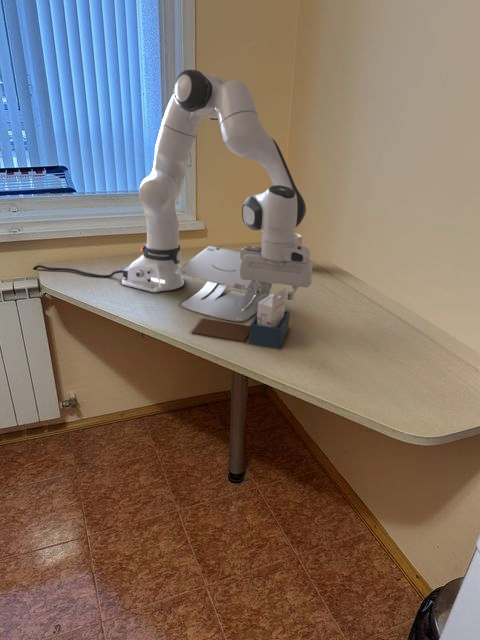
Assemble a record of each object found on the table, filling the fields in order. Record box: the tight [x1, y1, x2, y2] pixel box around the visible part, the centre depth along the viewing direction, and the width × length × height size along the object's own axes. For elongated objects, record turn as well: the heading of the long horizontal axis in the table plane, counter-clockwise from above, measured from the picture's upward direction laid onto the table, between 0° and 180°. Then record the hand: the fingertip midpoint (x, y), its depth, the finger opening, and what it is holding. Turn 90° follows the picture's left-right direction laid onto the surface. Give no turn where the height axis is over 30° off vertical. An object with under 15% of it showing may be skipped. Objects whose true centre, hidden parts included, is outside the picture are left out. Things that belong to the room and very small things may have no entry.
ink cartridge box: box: [256, 287, 287, 328], centre depth 140 cm, size 9×5×15 cm, turn 148°
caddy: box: [248, 310, 291, 350], centre depth 143 cm, size 9×13×6 cm
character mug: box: [294, 232, 303, 245], centre depth 195 cm, size 11×7×13 cm, turn 131°
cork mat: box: [191, 317, 250, 343], centre depth 146 cm, size 16×10×1 cm, turn 74°
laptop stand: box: [175, 245, 273, 323], centre depth 160 cm, size 26×24×16 cm
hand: (273, 296), depth 138 cm, fingers open, 8 cm apart
